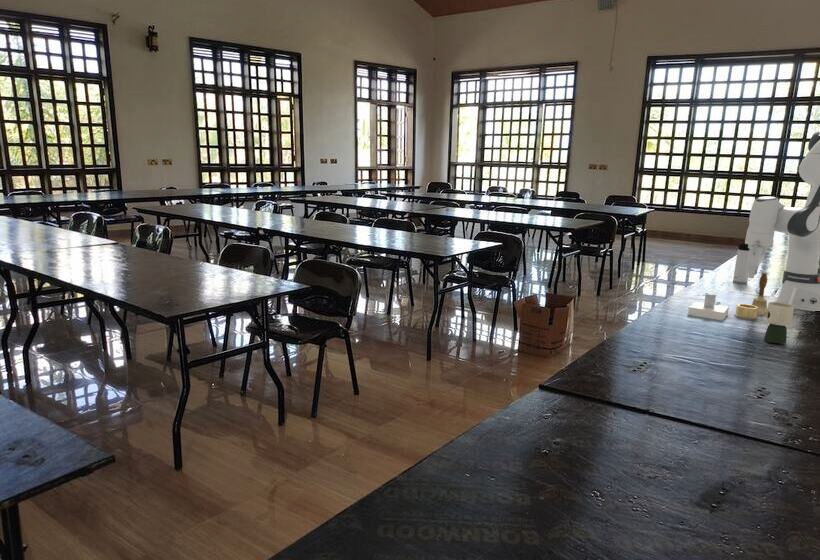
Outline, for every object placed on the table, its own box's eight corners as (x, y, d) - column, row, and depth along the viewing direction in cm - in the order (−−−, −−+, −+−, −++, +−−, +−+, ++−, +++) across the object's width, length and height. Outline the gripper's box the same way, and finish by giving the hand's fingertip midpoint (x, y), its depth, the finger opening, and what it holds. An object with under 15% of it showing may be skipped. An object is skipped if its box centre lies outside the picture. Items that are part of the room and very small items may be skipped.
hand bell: (773, 315, 225) (780, 275, 221) (750, 314, 226) (757, 274, 223) (765, 310, 233) (771, 271, 229) (743, 308, 234) (749, 270, 231)
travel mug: (734, 283, 285) (740, 243, 281) (731, 281, 291) (737, 241, 287) (748, 284, 284) (755, 244, 279) (745, 282, 290) (751, 242, 286)
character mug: (764, 336, 196) (771, 299, 193) (789, 341, 191) (796, 303, 189) (759, 344, 188) (765, 305, 185) (784, 349, 183) (791, 309, 180)
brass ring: (757, 316, 223) (759, 306, 222) (755, 319, 218) (757, 309, 217) (736, 312, 227) (738, 303, 226) (734, 316, 222) (735, 306, 221)
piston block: (727, 314, 224) (730, 294, 223) (722, 320, 215) (725, 299, 213) (694, 308, 231) (696, 289, 230) (687, 314, 222) (690, 294, 220)
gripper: (766, 243, 206) (759, 281, 209) (771, 238, 222) (764, 274, 225) (746, 241, 210) (739, 278, 213) (752, 236, 226) (746, 271, 229)
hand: (752, 276), depth 219 cm, fingers open, 8 cm apart
